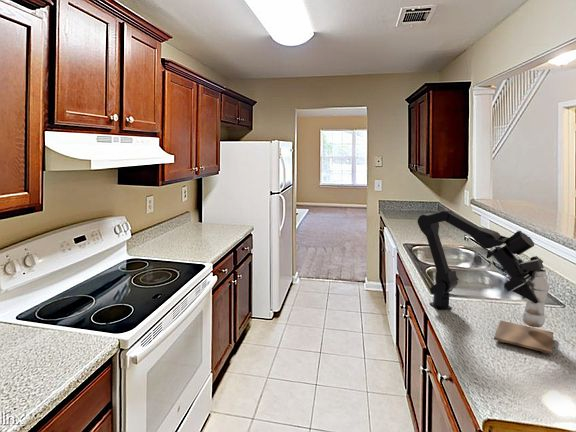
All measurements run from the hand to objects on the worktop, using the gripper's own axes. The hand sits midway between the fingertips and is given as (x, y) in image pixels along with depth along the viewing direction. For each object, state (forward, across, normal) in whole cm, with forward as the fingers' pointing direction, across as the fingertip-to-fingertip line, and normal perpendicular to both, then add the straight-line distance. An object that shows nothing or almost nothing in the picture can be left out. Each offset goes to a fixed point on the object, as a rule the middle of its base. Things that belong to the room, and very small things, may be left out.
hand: (540, 300), depth 128 cm
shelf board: (+8, -6, +11) cm, 15 cm away
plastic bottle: (+6, 0, +8) cm, 10 cm away
